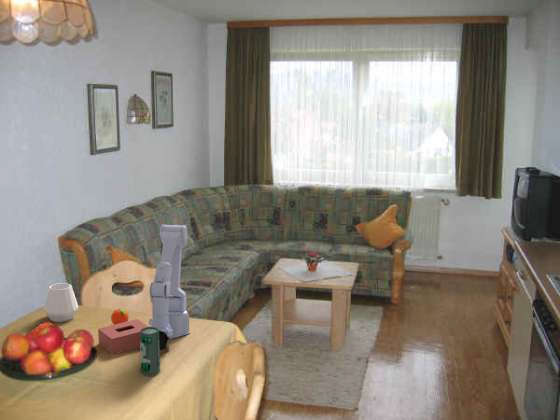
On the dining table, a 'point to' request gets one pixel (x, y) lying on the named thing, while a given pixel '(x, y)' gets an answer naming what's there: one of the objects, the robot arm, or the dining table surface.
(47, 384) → the dining table surface
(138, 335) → the coin box
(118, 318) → the clementine
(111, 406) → the dining table surface
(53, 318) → the white tapered hollow vessel
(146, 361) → the can
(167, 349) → the token
